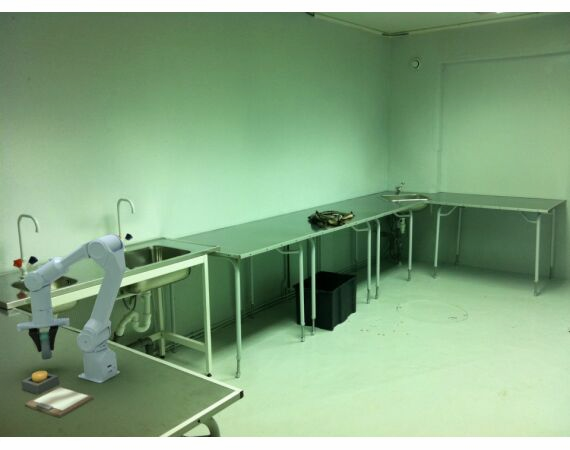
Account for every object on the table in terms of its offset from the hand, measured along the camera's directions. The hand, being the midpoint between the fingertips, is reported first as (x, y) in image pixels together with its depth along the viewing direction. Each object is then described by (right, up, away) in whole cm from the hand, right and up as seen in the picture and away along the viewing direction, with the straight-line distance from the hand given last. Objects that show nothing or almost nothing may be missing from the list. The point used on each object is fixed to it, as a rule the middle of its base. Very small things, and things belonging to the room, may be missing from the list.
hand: (46, 350), depth 162 cm
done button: (+3, -7, -9) cm, 12 cm away
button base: (+3, -9, -9) cm, 13 cm away
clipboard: (+12, -10, -19) cm, 24 cm away
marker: (0, -2, 0) cm, 2 cm away
